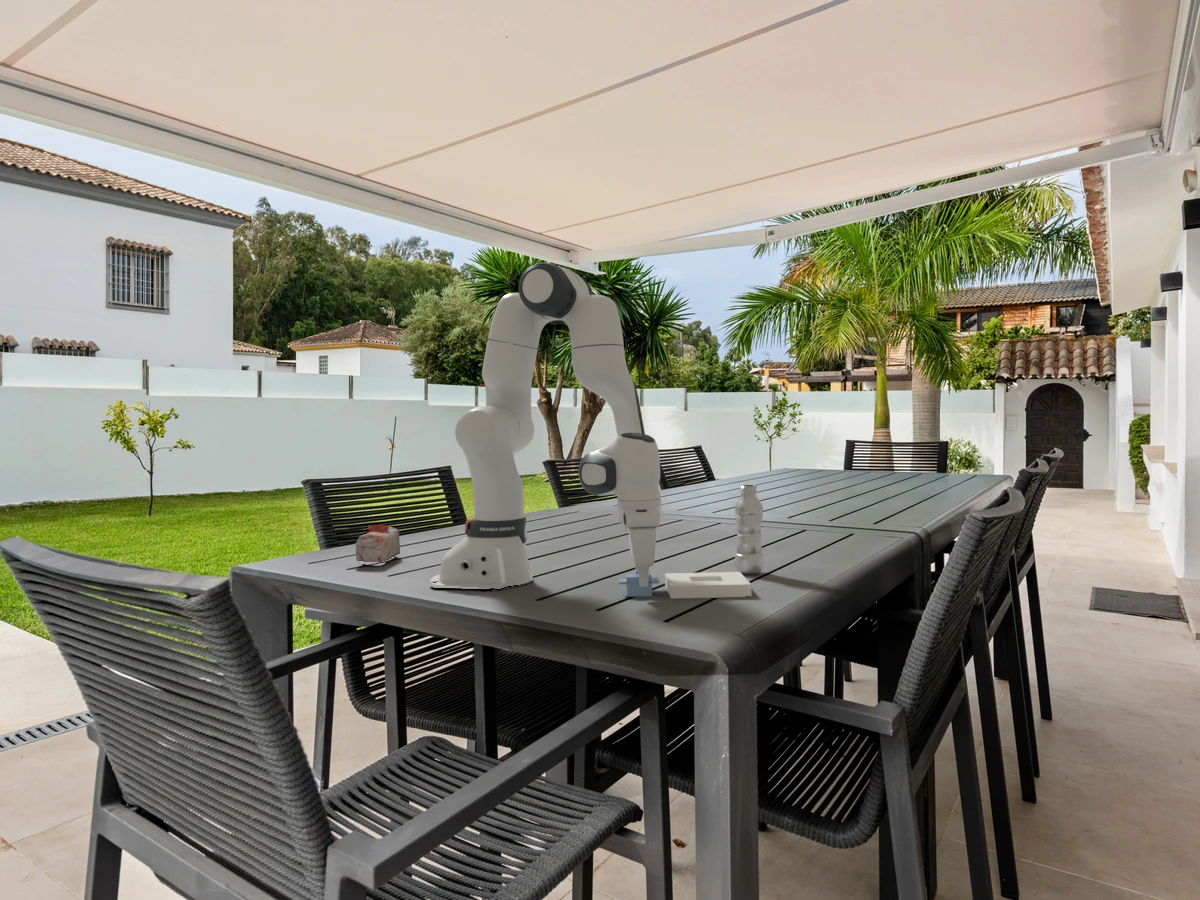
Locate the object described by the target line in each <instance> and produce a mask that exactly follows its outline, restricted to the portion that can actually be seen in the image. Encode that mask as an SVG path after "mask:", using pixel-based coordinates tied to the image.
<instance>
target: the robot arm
mask: <svg viewBox="0 0 1200 900" xmlns="http://www.w3.org/2000/svg"><path fill="white" fill-rule="evenodd" d="M548 323H549V324H550V325H554V326H556V325H559V324H566V325H567V328H568V329H569V335H570V350H571V363H572V366H571V367H572V369H573V373H574V376H575V379H576V380H577V381H578V382H579V383H580V385H582V386H583V387H584V388H585V389H586V390H588V391H589V392H591V393H593V394H595V395H597V396H599V397H600V398H601V399H603V400H604V402H606V403H607V404H608V405H609V406H610V409H611V411H612V414H613V419H614V424H615V429H616V430H615V431H616V436H617V437H616V439H615V440H613V441H612V442H611V443H609V444H607V445H605V446H603V447H601V448H598V449H596V450H593V451H589V452H587V453H586V454H585V455H584V456H583V457H582V459H581V461H580V462H579V466H578V479H579V481H580V484H581V487H582V488H583V489H584V490H585V492H587V493H588V494H590V495H593V496H599V497H602V496H603V497H604V496H609V495H616V496H617V500H616V501H617V522H618V523H619V524H623V525H624V531H627V532H628V542H629V543H628V545H629V550H630V553H631V557H632V560H633V562H634V567H635V574H638V575H639V585H640V586H641V587H646V586H648V574H649V572H650V567H653V566H654V564H655V558H656V546H657V545H656V544H657V528H659V527H660V522H662V519H663V518H662V497H661V496H662V495H661V492H660V479H661V463H660V453H659V448H658V443H657V442H656V439H655V438H654V437H653V436H651V435H649V434H646V433H645V426H644V421H643V415H642V411H641V410H642V409H641V404H640V399H639V395H638V394H639V393H638V390H637V387H636V384H635V381H634V379H633V378H632V377H631V374H630V371H629V369H628V366H627V361H626V354H625V347H624V345H625V344H624V336H623V329H622V323H621V318H620V314H619V309H618V307H617V305H616V302H615V301H614V300H613V299H611V298H610V297H608V296H605V295H602V294H594V293H593V289H592V287H591V285H590V284H589V283H588V281H587V280H586V279H585V278H584V277H583V276H580V275H579V274H577V273H576V272H574V271H573V270H570V269H569V268H566V267H562V266H558V264H557V265H556V264H554V263H550V262H538V263H537V262H536V263H535V264H533V265H530V266H529V267H527V268H526V269H525V270H524V271H523V272H522V275H521V276H520V278H519V281H518V292H510V293H507V294H505V295H503V296H502V297H501V298H500V299H499V300H498V303H497V306H496V308H495V312H494V313H493V317H492V320H491V323H490V328H489V331H488V335H487V341H486V347H485V352H484V358H483V364H482V369H481V377H482V380H483V383H484V387H485V405H479V406H476V407H474V408H472V409H469V410H468V411H466V412H465V413H463V414H462V415H461V416H460V417H459V418H458V420H457V422H456V425H455V430H454V431H455V432H454V433H455V439H456V442H457V444H458V446H459V447H460V448H461V450H462V451H463V453H464V456H465V458H466V461H467V465H468V470H469V473H470V478H471V484H472V495H473V496H472V498H473V501H472V502H473V518H472V517H471V518H470V517H469V518H468V519H467V520H466V521H465V523H464V532H465V533H464V534H465V535H466V536H465V537H463V538H462V539H461V540H459V541H458V542H457V543H456V544H454V546H453V547H451V548H450V549H449V550H448V551H447V552H445V554H444V555H443V557H442V559H441V563H440V569H439V574H440V575H439V574H438V573H437V574H436V575H434V576H433V577H431V578H430V580H429V584H430V583H431V582H433V581H438V582H436V583H431V584H433V585H445V586H460V587H478V588H494V589H495V588H503V587H507V586H512V587H514V586H513V585H518V586H522V585H525V583H526V584H529V583H531V582H532V581H533V580H534V577H533V574H532V571H531V568H530V564H529V559H528V558H529V557H528V553H527V541H528V540H527V539H528V522H527V518H526V516H525V508H524V507H525V504H524V502H525V501H524V499H525V498H524V495H525V494H524V482H523V479H522V477H521V476H520V475H519V471H518V468H517V464H516V461H515V455H514V454H516V453H518V452H520V451H522V450H524V449H525V448H526V447H527V446H528V445H529V444H530V443H531V442H532V440H533V438H534V435H535V426H534V421H533V419H532V387H533V386H532V385H533V384H532V383H533V377H534V371H535V365H536V360H537V356H538V355H537V354H538V349H539V343H540V338H541V334H542V331H543V329H544V327H545V326H546V325H547V324H548ZM530 581H531V582H530ZM521 584H522V585H521ZM507 588H508V587H507Z"/></svg>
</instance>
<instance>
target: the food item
mask: <svg viewBox="0 0 1200 900" xmlns="http://www.w3.org/2000/svg"><path fill="white" fill-rule="evenodd" d="M400 544H401V543H400V530H399V529H397V528H395V527H392V526H388V525H384V524H383V523H380V524H379V525H370V524H369V525H368V532H367V533H366V534H362V535H360V536H359V537H358V539H357V540H356V542H355V545H354V546H355V560H356V562H358V561H364V562H383V561H386V560H389V559H391V558H392V557H395V556H396V555H398V554H401V545H400Z"/></svg>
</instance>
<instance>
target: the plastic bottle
mask: <svg viewBox="0 0 1200 900" xmlns="http://www.w3.org/2000/svg"><path fill="white" fill-rule="evenodd" d="M739 487H740V488H739V489H740V491H739V494H740V497H739V498H738V500H737V502H736V503H735V506H734V517H735V518H734V519H735V523H736V533H737V534H736V540H737V541H736V552H735V555H734V556H735V557H734V567H735V569H736V572H740V573H741V574H746V575H752V574H753V575H754V574H758V573H761V572H762V571H763V569H764V564H765V561H764V554H763V549H762V523H763V514H764V506H763V504H762V502H761V501H760V499H759V498H758V497H757V494H758V491H757V484H742V485H740V486H739Z"/></svg>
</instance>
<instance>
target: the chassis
mask: <svg viewBox="0 0 1200 900" xmlns="http://www.w3.org/2000/svg"><path fill="white" fill-rule="evenodd" d="M664 586H665V589H666V590H667V593H668V596H669V598H670V599H711V598H712V599H713V598H716V599H717V598H718V599H719V598H747V597H746V596H751V597H752V583H751V582H750V581H749V580H748V579H747V578H746V577H745V575H743V573H741V572H738V571H722V572H721V571H720V572H719V571H718V572H717V571H715V572H677V573H676V572H673V573H672V572H671V573H670V572H669V573H668V572H666V573H664Z"/></svg>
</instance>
